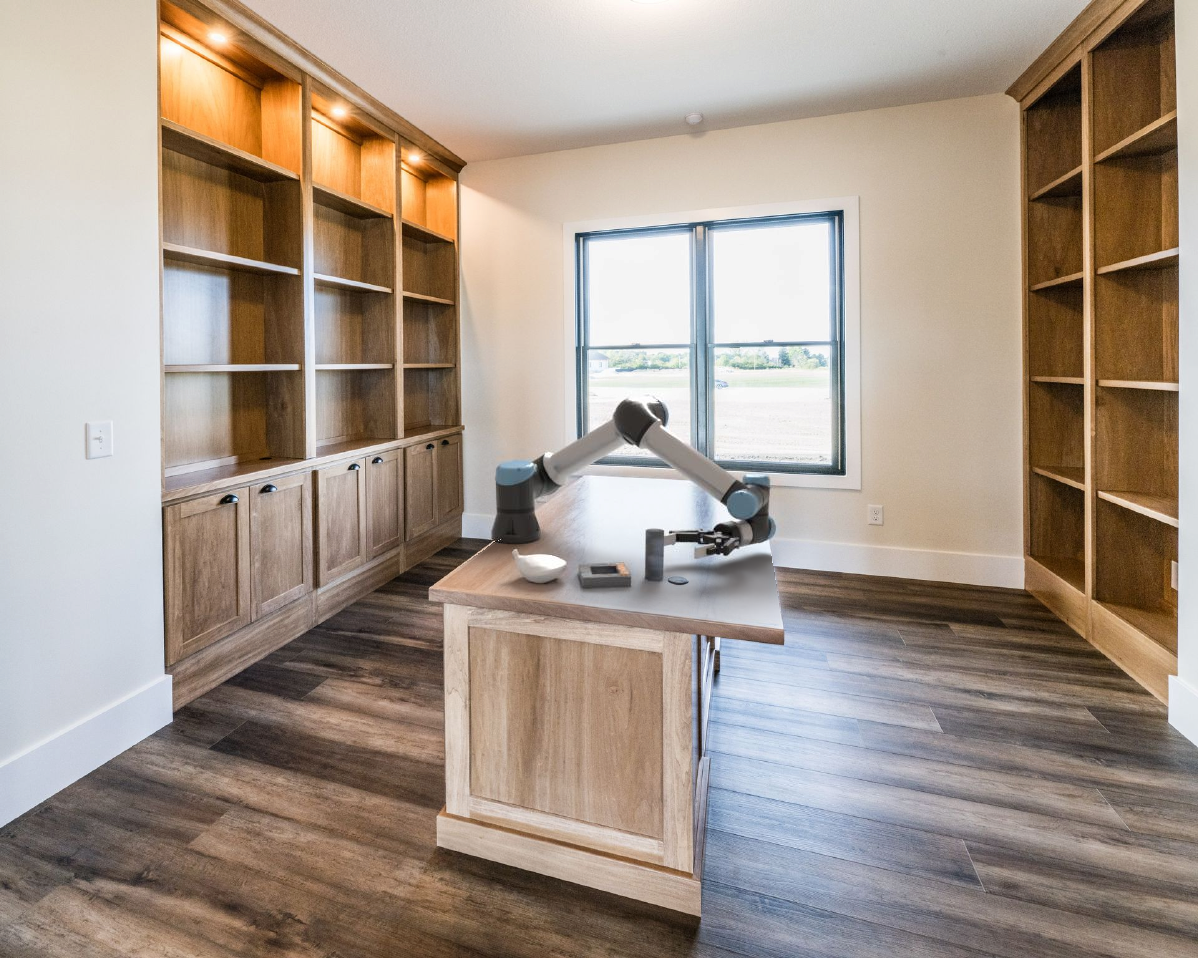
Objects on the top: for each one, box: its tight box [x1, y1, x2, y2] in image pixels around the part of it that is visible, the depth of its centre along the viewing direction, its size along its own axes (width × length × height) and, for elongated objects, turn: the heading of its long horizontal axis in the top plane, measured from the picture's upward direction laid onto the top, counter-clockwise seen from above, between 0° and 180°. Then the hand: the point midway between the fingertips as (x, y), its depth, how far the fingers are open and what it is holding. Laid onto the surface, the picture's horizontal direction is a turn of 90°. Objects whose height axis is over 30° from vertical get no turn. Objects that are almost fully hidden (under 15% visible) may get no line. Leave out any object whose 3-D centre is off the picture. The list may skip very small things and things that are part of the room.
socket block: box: [578, 562, 632, 589], centre depth 158 cm, size 12×12×3 cm
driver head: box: [511, 549, 568, 584], centre depth 157 cm, size 10×11×12 cm
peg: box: [644, 528, 665, 582], centre depth 158 cm, size 4×4×12 cm
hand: (675, 547), depth 162 cm, fingers open, 13 cm apart
